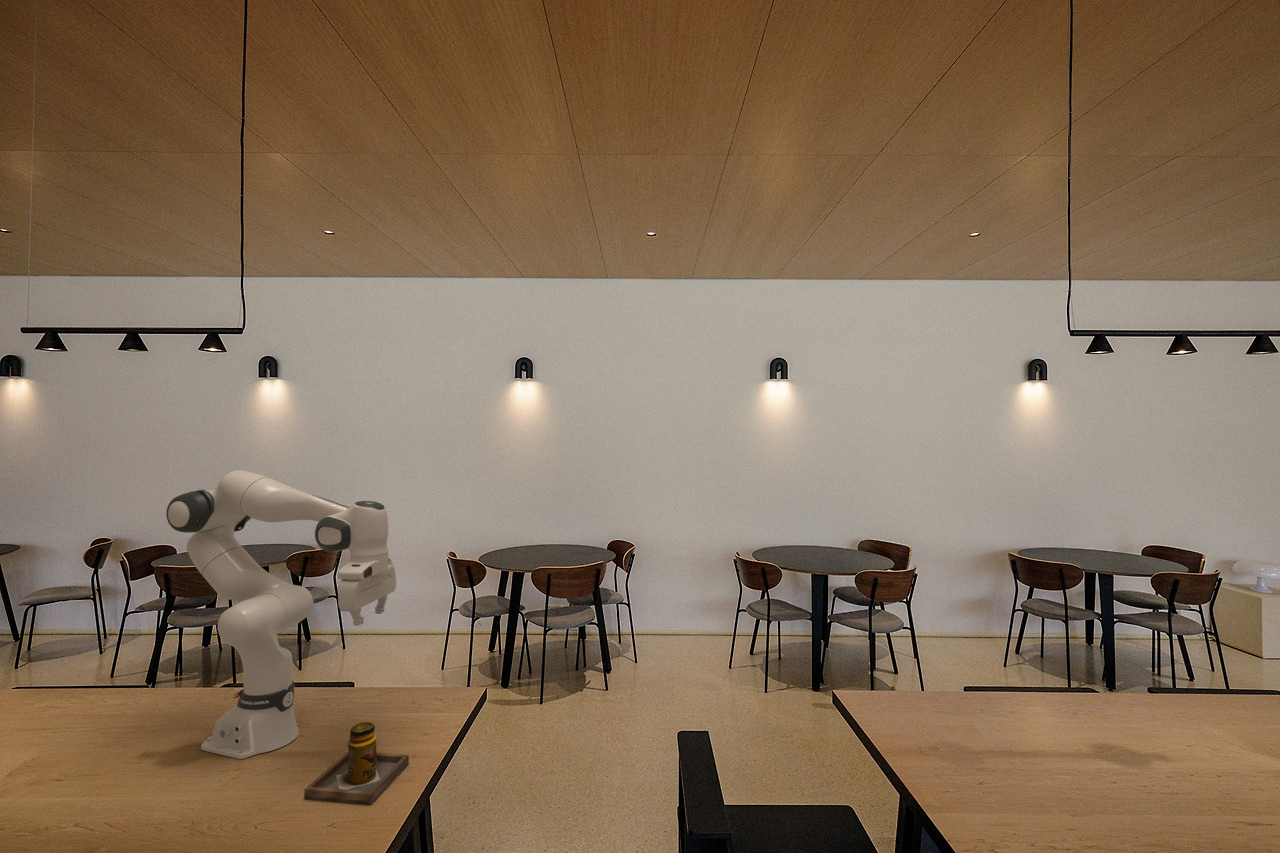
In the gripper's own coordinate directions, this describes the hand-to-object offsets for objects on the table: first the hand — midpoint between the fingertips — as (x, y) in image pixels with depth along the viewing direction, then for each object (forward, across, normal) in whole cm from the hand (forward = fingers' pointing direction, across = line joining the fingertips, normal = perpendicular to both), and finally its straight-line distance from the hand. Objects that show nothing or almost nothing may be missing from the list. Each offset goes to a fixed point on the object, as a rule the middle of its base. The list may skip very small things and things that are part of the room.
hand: (369, 618), depth 152 cm
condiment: (+34, +12, +5) cm, 36 cm away
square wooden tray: (+34, +12, +5) cm, 36 cm away
